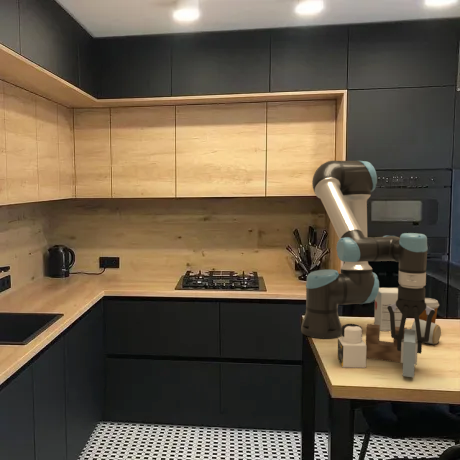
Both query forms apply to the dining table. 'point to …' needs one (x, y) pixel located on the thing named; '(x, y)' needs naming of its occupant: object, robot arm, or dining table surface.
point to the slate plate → (409, 353)
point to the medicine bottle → (351, 347)
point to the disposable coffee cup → (432, 304)
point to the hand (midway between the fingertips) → (408, 362)
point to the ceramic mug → (434, 332)
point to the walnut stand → (381, 345)
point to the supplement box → (381, 311)
